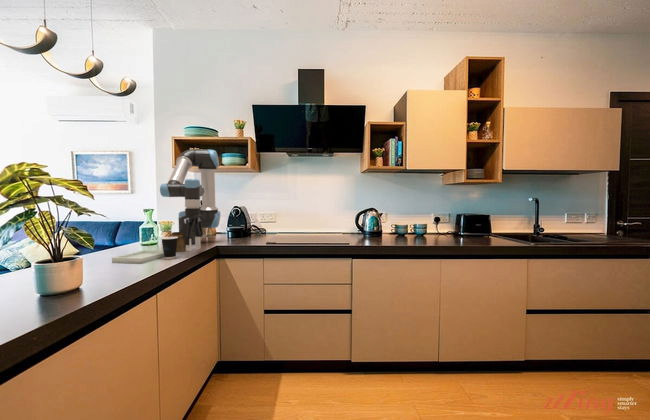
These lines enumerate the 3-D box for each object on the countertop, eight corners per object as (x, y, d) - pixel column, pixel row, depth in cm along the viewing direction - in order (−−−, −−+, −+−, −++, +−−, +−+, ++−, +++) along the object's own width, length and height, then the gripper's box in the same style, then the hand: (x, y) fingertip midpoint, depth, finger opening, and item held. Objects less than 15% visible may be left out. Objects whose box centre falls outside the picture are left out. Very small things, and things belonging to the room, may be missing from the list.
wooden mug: (194, 251, 164) (193, 221, 164) (167, 253, 159) (167, 221, 158) (195, 249, 172) (194, 220, 172) (170, 250, 167) (169, 220, 167)
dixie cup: (178, 256, 150) (177, 236, 150) (178, 258, 144) (178, 237, 143) (161, 257, 147) (161, 237, 146) (161, 260, 140) (160, 238, 139)
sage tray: (144, 254, 155) (144, 250, 154) (170, 255, 152) (170, 251, 152) (112, 262, 135) (111, 257, 135) (141, 263, 132) (141, 258, 132)
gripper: (197, 207, 162) (198, 246, 163) (173, 208, 142) (174, 253, 143) (209, 207, 161) (210, 246, 162) (187, 208, 141) (187, 253, 142)
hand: (193, 249), depth 152 cm, fingers open, 8 cm apart
